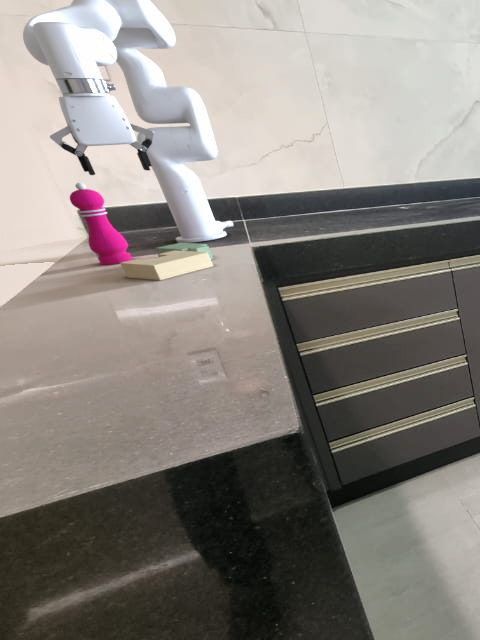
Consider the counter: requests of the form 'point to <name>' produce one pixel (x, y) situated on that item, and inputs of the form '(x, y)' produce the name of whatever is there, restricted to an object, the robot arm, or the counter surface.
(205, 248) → the sage pad
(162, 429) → the counter surface
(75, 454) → the counter surface
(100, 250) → the pepper mill
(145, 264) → the sand pad
